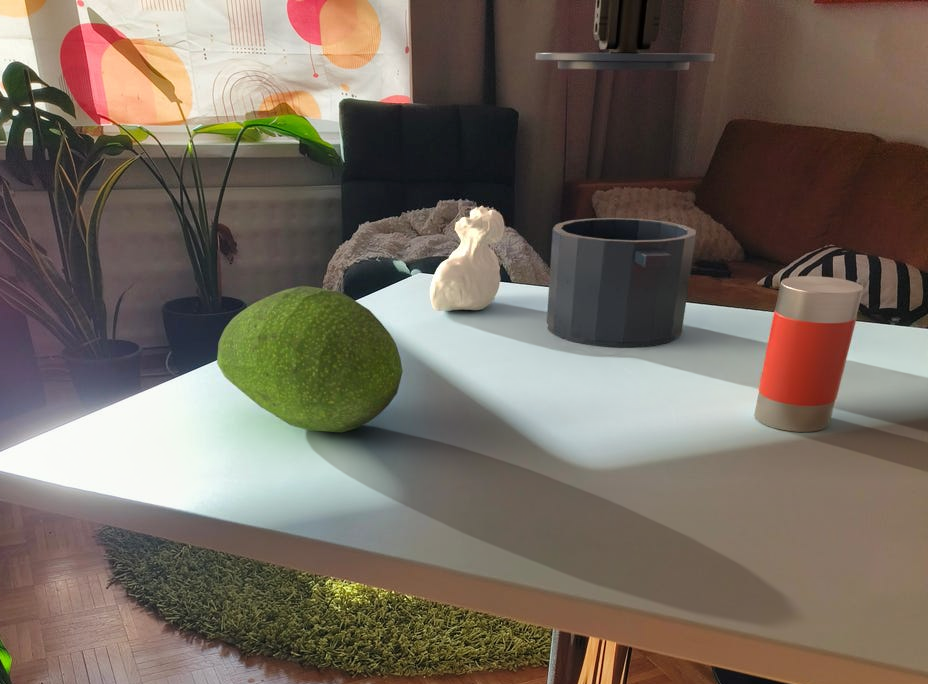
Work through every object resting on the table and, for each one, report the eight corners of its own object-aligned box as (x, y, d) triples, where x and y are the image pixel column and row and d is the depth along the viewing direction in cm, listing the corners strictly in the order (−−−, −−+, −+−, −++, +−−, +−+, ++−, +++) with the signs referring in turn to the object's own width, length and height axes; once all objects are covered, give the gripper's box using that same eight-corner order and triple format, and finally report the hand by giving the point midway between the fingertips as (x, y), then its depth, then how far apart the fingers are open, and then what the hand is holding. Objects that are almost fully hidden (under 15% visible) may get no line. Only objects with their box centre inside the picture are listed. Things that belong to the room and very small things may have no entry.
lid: (673, 67, 81) (683, -15, 78) (742, 71, 69) (757, -27, 66) (517, 67, 79) (521, -18, 76) (560, 70, 67) (567, -31, 64)
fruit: (194, 420, 69) (172, 283, 63) (287, 387, 75) (275, 261, 70) (339, 466, 61) (329, 316, 55) (428, 426, 68) (427, 287, 62)
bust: (445, 340, 95) (507, 258, 88) (395, 289, 95) (453, 201, 88) (491, 316, 104) (552, 239, 97) (446, 269, 104) (503, 188, 97)
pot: (644, 304, 100) (655, 212, 95) (714, 351, 85) (732, 245, 80) (526, 309, 98) (531, 215, 93) (576, 358, 83) (585, 249, 78)
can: (806, 405, 72) (837, 274, 67) (844, 430, 67) (880, 291, 62) (740, 409, 71) (766, 277, 66) (774, 434, 67) (804, 294, 61)
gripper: (572, -260, 60) (554, 49, 70) (766, -249, 62) (722, 50, 71) (545, -231, 66) (531, 49, 76) (722, -222, 68) (687, 50, 78)
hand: (624, 48), depth 74 cm, fingers closed on lid, 2 cm apart
